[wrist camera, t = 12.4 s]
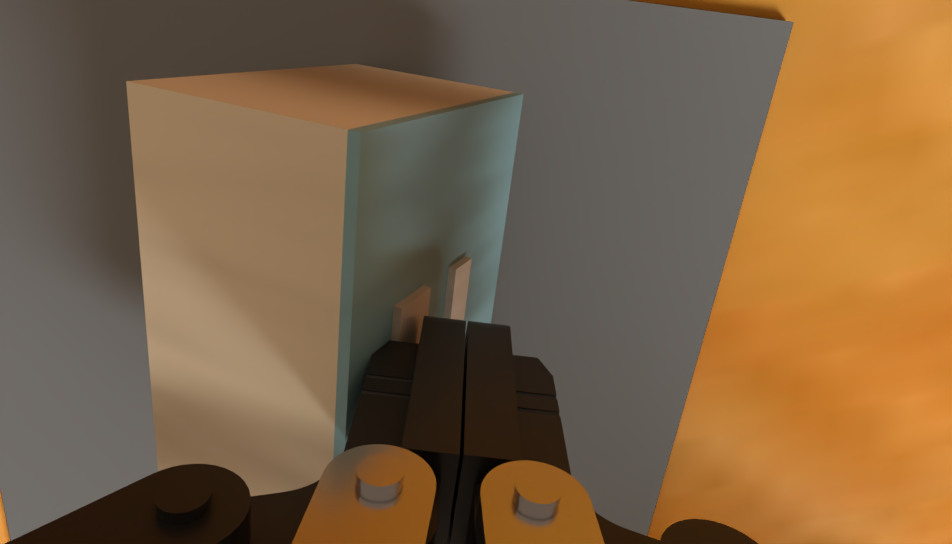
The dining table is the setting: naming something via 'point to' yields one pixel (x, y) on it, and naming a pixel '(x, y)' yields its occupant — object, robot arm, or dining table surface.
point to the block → (305, 247)
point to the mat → (525, 234)
